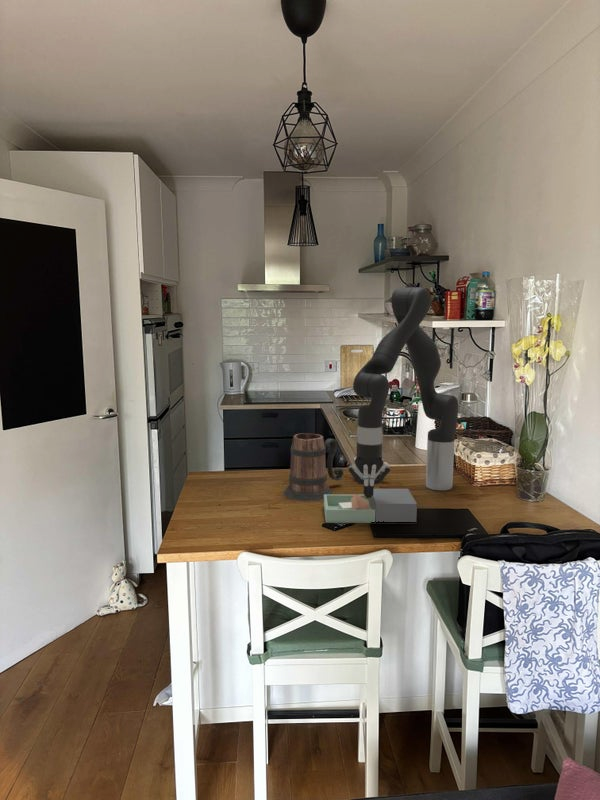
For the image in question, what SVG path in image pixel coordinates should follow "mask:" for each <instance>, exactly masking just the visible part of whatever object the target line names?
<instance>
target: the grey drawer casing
mask: <svg viewBox="0 0 600 800" xmlns="http://www.w3.org/2000/svg"><path fill="white" fill-rule="evenodd" d="M370 508H371V509H375V521H376V522H378V521H379V522H383V521H384V522H416V523H417V513H418V512H417V511H418V503H417V502H416V500H415V498H414V496H413V495H412V493H411V491H410V489H409V488H374V490H373V496H371V498H370ZM376 522H375V523H376Z"/></svg>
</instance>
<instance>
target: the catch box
mask: <svg viewBox="0 0 600 800" xmlns="http://www.w3.org/2000/svg"><path fill="white" fill-rule="evenodd" d="M355 495H356V494H332V495H327V494H324V499H323V511H324V512H323V513H324V517H325V518H324V520H325V524H336V523H337V524H372V523H371V522H375V509H371V508H370V509H338V503H345V502H351V498H352V497H353V496H355ZM358 495H359V496H361V497H363V498H365V499H367V500H368V501H369V506H370V498H366V496H364V494H358ZM375 523H376V522H375Z"/></svg>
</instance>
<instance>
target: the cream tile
mask: <svg viewBox="0 0 600 800" xmlns="http://www.w3.org/2000/svg"><path fill="white" fill-rule="evenodd" d="M338 509H352V503H351V502H345V503H338Z"/></svg>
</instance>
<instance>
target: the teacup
mask: <svg viewBox="0 0 600 800" xmlns="http://www.w3.org/2000/svg"><path fill="white" fill-rule="evenodd" d="M356 457H357V456H355V457H353V464H354V463H355V460H356ZM382 460H383V462H384V464H385V465H386V466H389V468H390V464H389V463H388V462H387V461H384V459H383V458H382ZM381 468H382V467H381ZM381 468H380V470H379V471H378V472H377V473H376V474H375V478H376V477H377V476H378V475H379V474H380V472H381ZM390 469H391V468H390ZM356 470H357V471H356V473H357V474H358V475H359V477H360V478H361V479H363V474H362V473H361V472H360V470H359V469H358V468H357V467H356ZM368 482H369V474H368Z"/></svg>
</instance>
